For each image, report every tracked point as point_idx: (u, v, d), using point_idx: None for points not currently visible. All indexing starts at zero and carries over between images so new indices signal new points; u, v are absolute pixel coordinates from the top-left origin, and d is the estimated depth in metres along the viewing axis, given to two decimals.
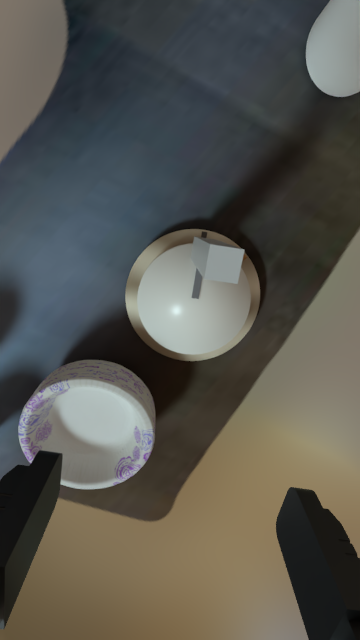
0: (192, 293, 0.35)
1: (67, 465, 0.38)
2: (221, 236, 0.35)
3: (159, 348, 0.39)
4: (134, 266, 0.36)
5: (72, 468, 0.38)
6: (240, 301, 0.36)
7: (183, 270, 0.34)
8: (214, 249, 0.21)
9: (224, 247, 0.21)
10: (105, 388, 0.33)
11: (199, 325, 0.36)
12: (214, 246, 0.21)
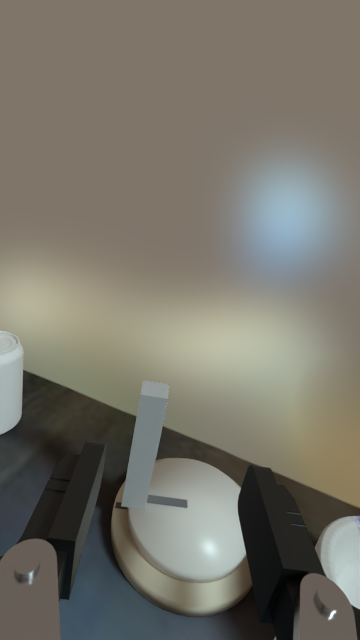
0: (182, 507, 0.32)
1: None
2: (120, 489, 0.34)
3: None
4: (158, 591, 0.26)
5: None
6: (183, 465, 0.37)
7: (158, 516, 0.31)
8: (144, 392, 0.27)
9: (142, 388, 0.28)
10: (331, 573, 0.24)
11: (215, 499, 0.34)
12: (142, 392, 0.27)
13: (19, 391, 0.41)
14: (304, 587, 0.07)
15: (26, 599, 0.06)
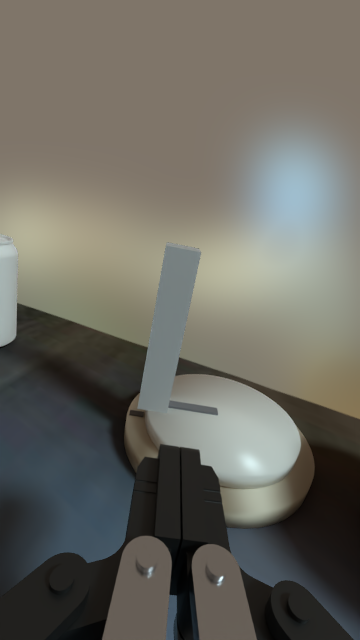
0: (211, 414, 0.26)
1: None
2: (135, 400, 0.28)
3: (307, 466, 0.25)
4: None
5: None
6: (207, 380, 0.31)
7: (184, 420, 0.25)
8: (170, 245, 0.21)
9: (167, 244, 0.22)
10: None
11: (249, 410, 0.28)
12: (167, 245, 0.21)
13: (13, 301, 0.35)
14: (197, 556, 0.08)
15: (142, 591, 0.07)
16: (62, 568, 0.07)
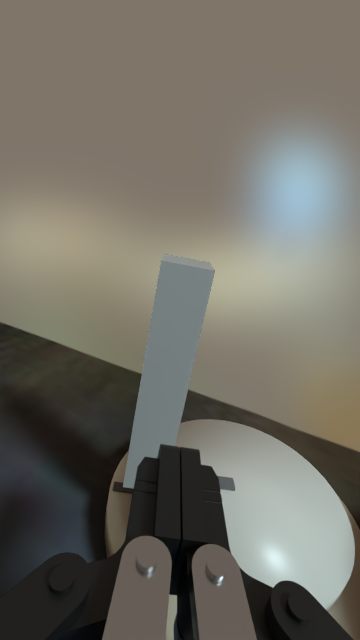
0: (226, 489, 0.19)
1: None
2: (122, 463, 0.21)
3: None
4: None
5: None
6: (217, 429, 0.24)
7: None
8: (168, 260, 0.14)
9: (163, 257, 0.15)
10: None
11: (276, 478, 0.21)
12: (163, 260, 0.14)
13: None
14: (197, 556, 0.08)
15: (142, 591, 0.07)
16: (62, 568, 0.07)
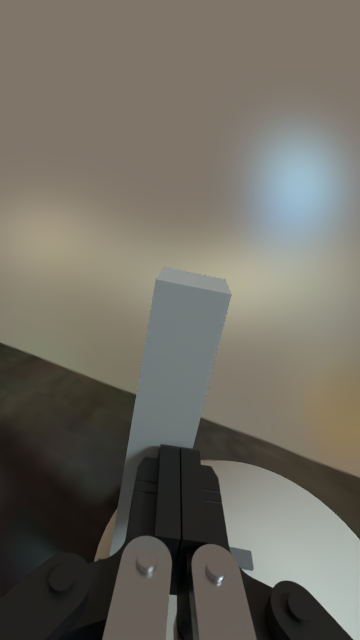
0: (242, 568, 0.15)
1: None
2: (109, 527, 0.17)
3: None
4: None
5: None
6: (233, 475, 0.20)
7: None
8: (166, 278, 0.10)
9: (161, 273, 0.11)
10: None
11: (307, 551, 0.16)
12: (160, 278, 0.10)
13: None
14: (197, 556, 0.08)
15: (143, 591, 0.07)
16: (62, 568, 0.07)
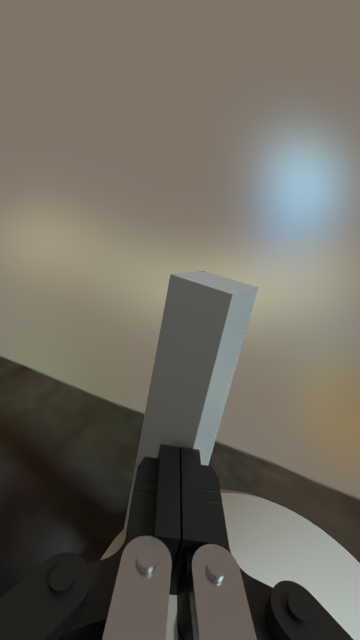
0: None
1: None
2: None
3: None
4: None
5: None
6: (286, 525, 0.17)
7: None
8: (183, 276, 0.11)
9: (187, 273, 0.12)
10: None
11: None
12: (178, 275, 0.11)
13: None
14: (197, 556, 0.08)
15: (142, 590, 0.07)
16: (62, 568, 0.07)
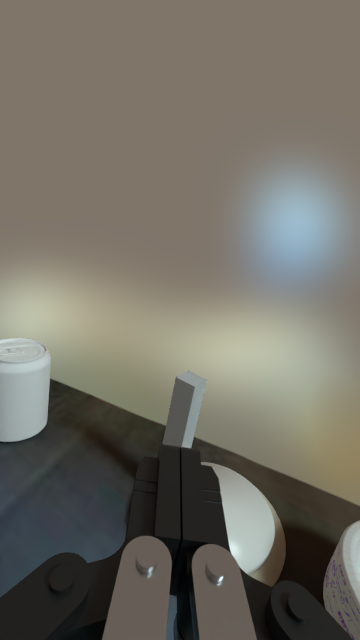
0: None
1: None
2: None
3: (279, 554, 0.31)
4: None
5: None
6: (228, 475, 0.38)
7: None
8: (180, 377, 0.33)
9: (181, 374, 0.33)
10: (354, 571, 0.25)
11: (240, 515, 0.33)
12: (178, 376, 0.33)
13: (46, 396, 0.43)
14: (197, 556, 0.08)
15: (142, 591, 0.07)
16: (62, 568, 0.07)
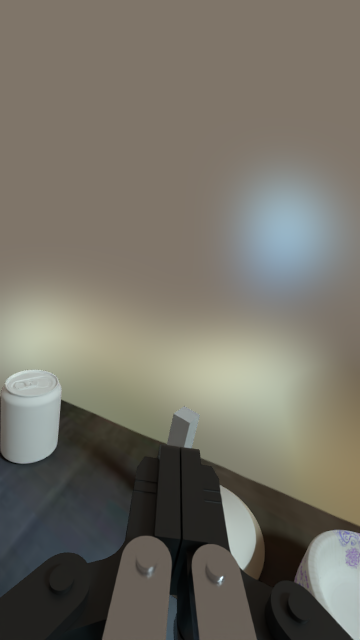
0: None
1: None
2: None
3: (259, 560, 0.38)
4: None
5: None
6: None
7: None
8: (177, 413, 0.39)
9: (178, 410, 0.39)
10: (315, 576, 0.31)
11: (227, 527, 0.40)
12: (175, 413, 0.39)
13: (57, 422, 0.48)
14: (197, 556, 0.08)
15: (142, 591, 0.07)
16: (62, 568, 0.07)
